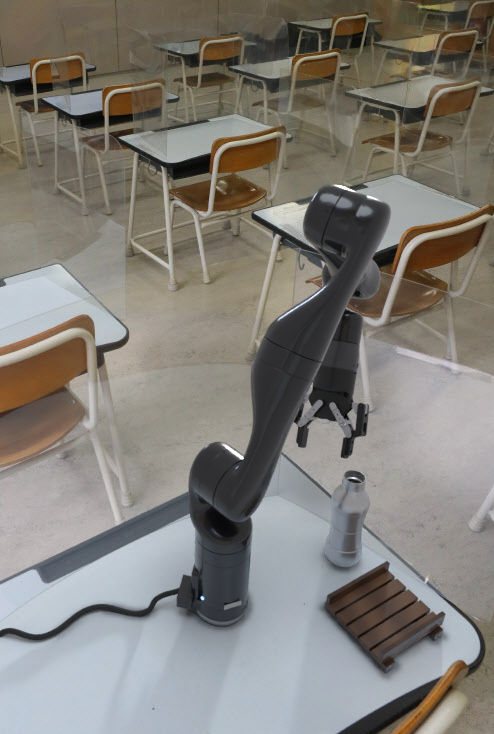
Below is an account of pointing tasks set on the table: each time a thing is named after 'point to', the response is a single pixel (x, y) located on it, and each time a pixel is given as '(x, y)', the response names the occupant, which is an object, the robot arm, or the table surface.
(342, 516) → the silver metal bottle
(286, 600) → the table surface
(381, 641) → the wooden slatted rack
